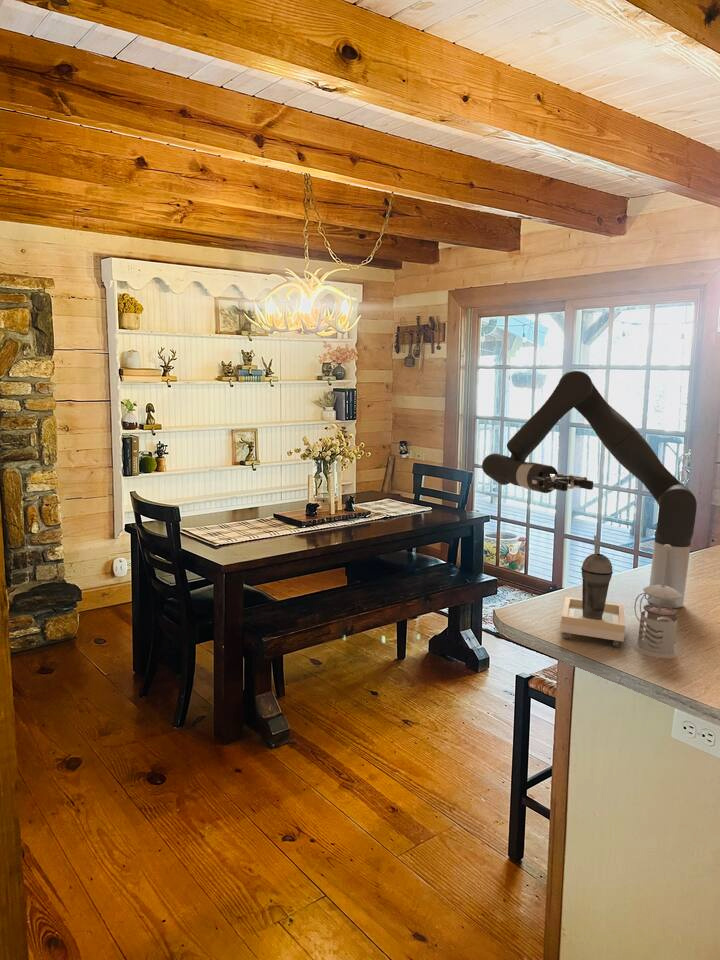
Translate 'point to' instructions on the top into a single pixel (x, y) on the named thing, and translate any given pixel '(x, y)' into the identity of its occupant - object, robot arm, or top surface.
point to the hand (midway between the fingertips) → (579, 486)
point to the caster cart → (593, 621)
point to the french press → (658, 622)
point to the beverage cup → (595, 584)
